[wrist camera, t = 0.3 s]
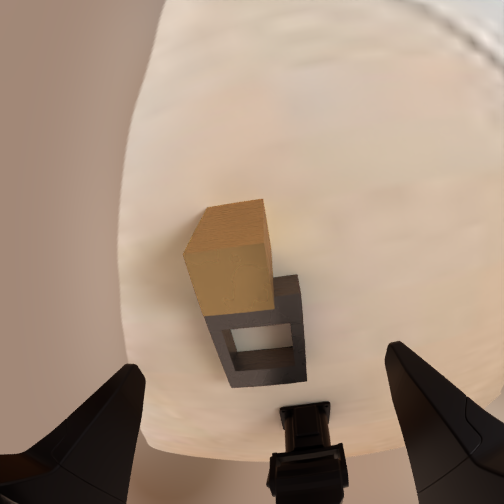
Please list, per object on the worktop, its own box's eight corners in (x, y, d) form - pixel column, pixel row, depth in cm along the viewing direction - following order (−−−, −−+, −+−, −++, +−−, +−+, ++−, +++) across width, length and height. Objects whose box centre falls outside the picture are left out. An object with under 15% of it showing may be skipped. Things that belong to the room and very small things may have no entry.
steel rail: (304, 362, 27) (306, 381, 25) (233, 369, 28) (231, 387, 26) (297, 274, 22) (300, 293, 20) (205, 285, 23) (200, 304, 21)
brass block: (271, 249, 21) (274, 309, 15) (219, 256, 22) (203, 316, 15) (263, 198, 19) (263, 242, 13) (207, 207, 20) (182, 254, 14)
